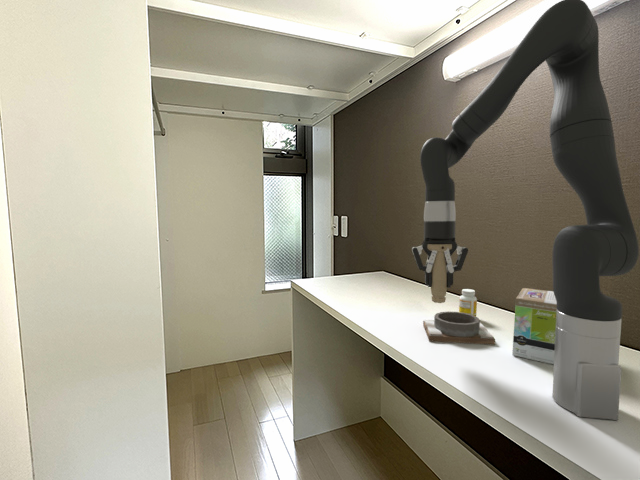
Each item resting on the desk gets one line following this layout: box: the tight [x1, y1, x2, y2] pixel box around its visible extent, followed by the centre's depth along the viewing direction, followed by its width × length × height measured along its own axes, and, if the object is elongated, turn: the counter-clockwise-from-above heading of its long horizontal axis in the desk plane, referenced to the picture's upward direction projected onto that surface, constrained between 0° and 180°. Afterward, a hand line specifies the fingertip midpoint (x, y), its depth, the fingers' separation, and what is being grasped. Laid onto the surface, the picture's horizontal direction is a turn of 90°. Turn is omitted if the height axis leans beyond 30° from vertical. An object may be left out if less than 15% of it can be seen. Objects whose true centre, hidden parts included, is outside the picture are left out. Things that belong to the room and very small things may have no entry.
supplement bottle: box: [458, 288, 478, 317], centre depth 112 cm, size 5×5×10 cm
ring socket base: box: [422, 310, 496, 345], centre depth 98 cm, size 13×17×5 cm
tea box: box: [512, 287, 557, 365], centre depth 86 cm, size 15×10×15 cm
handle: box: [428, 244, 452, 304], centre depth 86 cm, size 5×6×15 cm
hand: (438, 286), depth 86 cm, fingers closed on handle, 4 cm apart
